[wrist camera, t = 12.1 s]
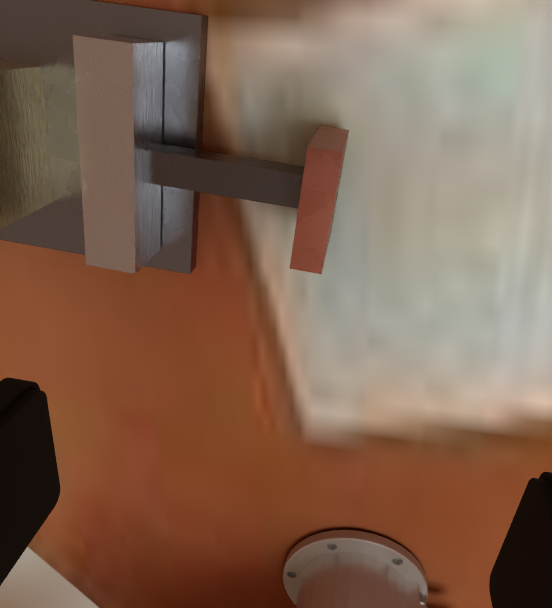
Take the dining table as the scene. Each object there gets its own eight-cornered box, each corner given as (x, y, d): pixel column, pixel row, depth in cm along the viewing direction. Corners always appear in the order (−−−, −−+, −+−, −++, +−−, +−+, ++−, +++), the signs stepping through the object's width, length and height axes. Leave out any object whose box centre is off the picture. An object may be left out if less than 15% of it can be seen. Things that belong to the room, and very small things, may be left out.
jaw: (359, 70, 27) (355, 79, 22) (322, 278, 33) (312, 325, 28) (109, 34, 28) (48, 35, 23) (115, 240, 34) (67, 279, 29)
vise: (208, 16, 29) (173, 12, 24) (195, 267, 36) (166, 304, 31) (-127, -29, 30) (-224, -42, 25) (-76, 217, 37) (-144, 245, 33)
